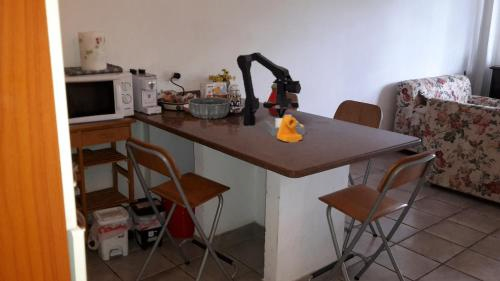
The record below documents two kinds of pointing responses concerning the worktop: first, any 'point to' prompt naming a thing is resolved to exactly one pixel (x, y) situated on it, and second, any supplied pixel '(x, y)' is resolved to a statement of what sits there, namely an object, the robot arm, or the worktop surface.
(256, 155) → the worktop surface
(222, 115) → the bundt pan
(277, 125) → the tab
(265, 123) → the switch bank
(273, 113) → the bottle
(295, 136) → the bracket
